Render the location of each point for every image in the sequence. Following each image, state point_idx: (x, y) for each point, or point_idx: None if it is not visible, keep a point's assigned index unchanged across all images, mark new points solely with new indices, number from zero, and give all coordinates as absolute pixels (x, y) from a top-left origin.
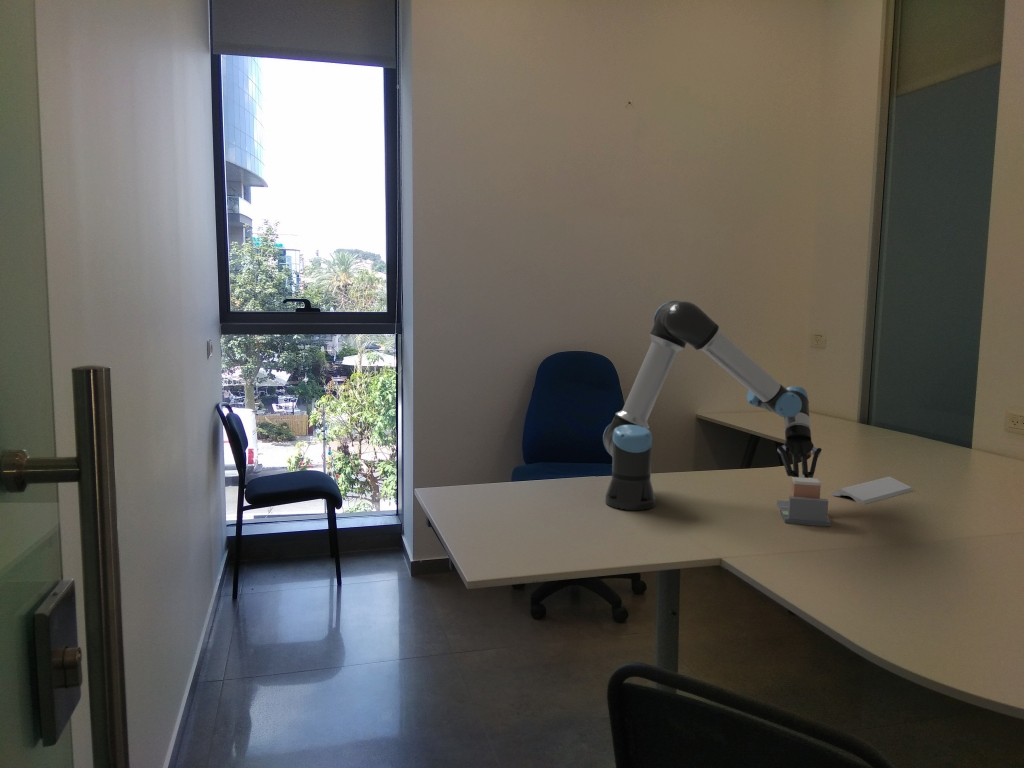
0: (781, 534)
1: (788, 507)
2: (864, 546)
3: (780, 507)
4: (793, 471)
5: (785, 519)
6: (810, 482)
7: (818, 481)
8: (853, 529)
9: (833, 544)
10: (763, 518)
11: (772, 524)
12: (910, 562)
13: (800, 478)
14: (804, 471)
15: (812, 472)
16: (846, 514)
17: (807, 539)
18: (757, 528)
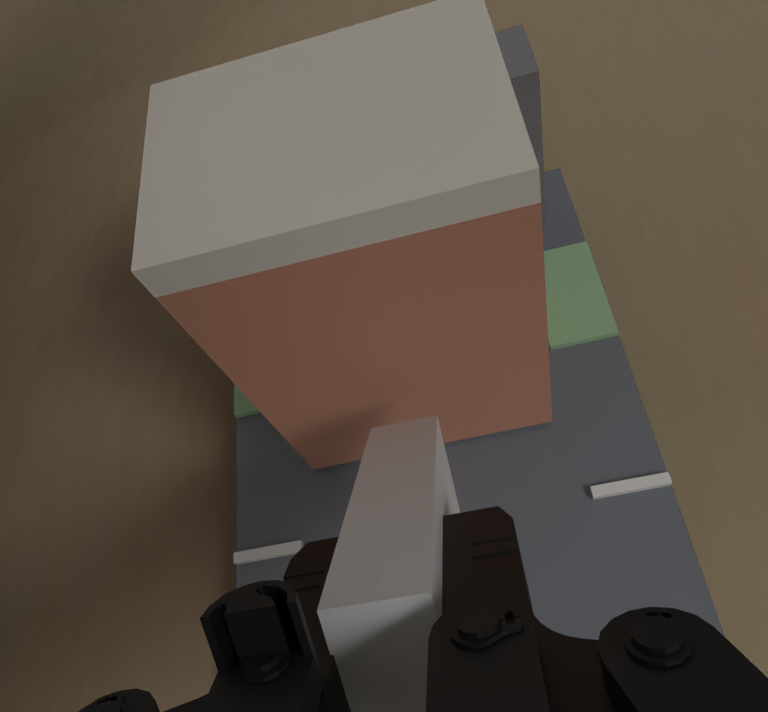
0: (551, 5)
1: (580, 510)
2: (146, 70)
3: (664, 469)
4: (573, 698)
5: (558, 172)
6: (275, 52)
7: (162, 130)
8: (116, 287)
9: (285, 22)
10: (748, 211)
11: (642, 124)
12: (31, 12)
13: (399, 149)
14: (283, 698)
15: (105, 707)
16: (39, 677)
17: None
18: (718, 14)
